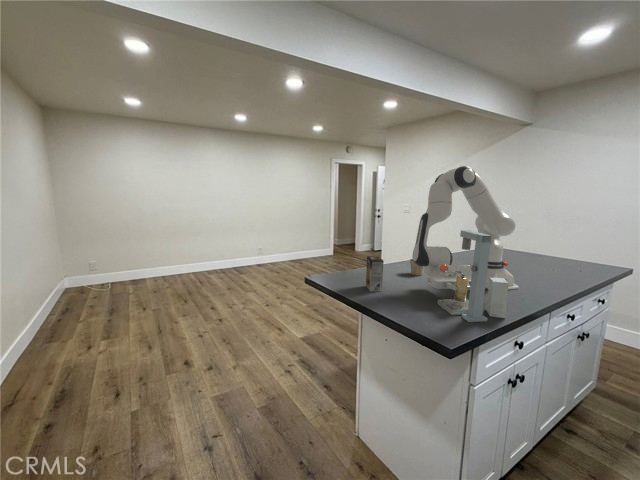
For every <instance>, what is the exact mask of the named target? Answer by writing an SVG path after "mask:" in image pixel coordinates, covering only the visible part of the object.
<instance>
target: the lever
mask: <svg viewBox="0 0 640 480" xmlns="http://www.w3.org/2000/svg"><path fill="white" fill-rule="evenodd" d="M439 269H440V271H441V272H443V273H445V272H447V271H460V272H472V271H474V272H475V271H476V270H477V267H475V266H473V264H451V265H446V264H442V265H441V266H440V267H439Z"/></svg>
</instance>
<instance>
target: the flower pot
mask: <svg viewBox="0 0 640 480" xmlns="http://www.w3.org/2000/svg"><path fill="white" fill-rule="evenodd" d="M409 264H410V274H411V275H412V276H416V277H417V276H422V275H423V273H424V266H423V267H419V266H418V265H417V264H416V263H415V262H414V261H413V258H410V259H409Z"/></svg>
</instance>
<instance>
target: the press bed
mask: <svg viewBox="0 0 640 480" xmlns="http://www.w3.org/2000/svg"><path fill="white" fill-rule="evenodd" d="M468 304H469V298H466V302H459V301H456V300H454V298H453V299H450V298H449V299H448V298H447V299H446V298H445V299H437V305H438V306H440V308H442V309H443V310H445V311H446V312H448V313H449V315H452V316H462V314H467V313H468ZM484 314H485V309H484V308H483V309H482V315H484Z"/></svg>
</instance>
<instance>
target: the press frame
mask: <svg viewBox="0 0 640 480" xmlns="http://www.w3.org/2000/svg"><path fill="white" fill-rule="evenodd" d="M459 236H460V238H462V242H461V250H466V251H469V250H471V246H472V241H475V244H474V252H473V262H472V265H473V266H475V267H477V270H476V271H475V272H474V271H471V277H472V278H471V287H470V290H469V297H468V300H469V304H468V313H467V314H462V315H461V319H464V320H465V321H466V322H469V323H474V322H478V323H479V322H488V320H489V318H488V317H487V316H485V315H484V314H482V309H484V308H483V307H484V300H485V299H484V298H485V291H486V288H485V284H486V276H487V268H488V259H489V251H490V243H491V235H487V234H482V233H478V231H472V230H467V229H466V230H463V229H462V230H460V233H459Z"/></svg>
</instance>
